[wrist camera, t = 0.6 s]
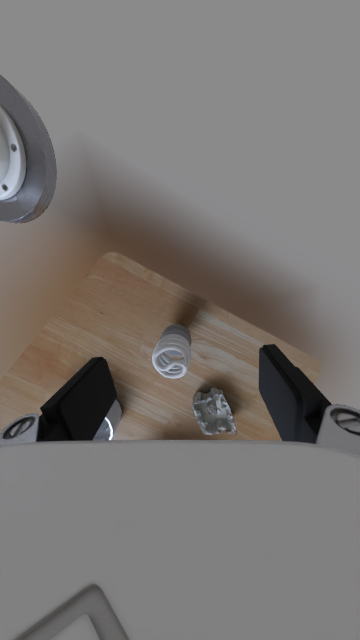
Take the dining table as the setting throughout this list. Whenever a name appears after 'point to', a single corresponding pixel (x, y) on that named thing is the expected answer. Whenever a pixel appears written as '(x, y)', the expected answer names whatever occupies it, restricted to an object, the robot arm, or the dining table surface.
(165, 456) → the robot arm
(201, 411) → the egg carton
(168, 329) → the light bulb
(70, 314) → the dining table surface
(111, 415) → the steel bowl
